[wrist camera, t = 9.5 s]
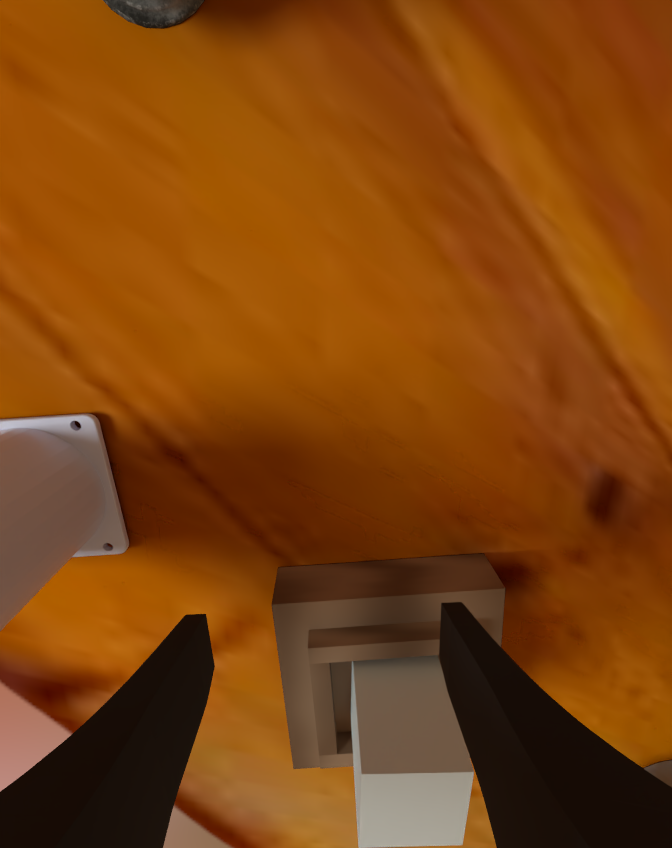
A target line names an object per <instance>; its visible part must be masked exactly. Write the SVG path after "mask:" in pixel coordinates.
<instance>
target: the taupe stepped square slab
mask: <svg viewBox="0 0 672 848" xmlns="http://www.w3.org/2000/svg"><path fill="white" fill-rule="evenodd" d="M504 601H505V587H504V585H503V584H502V582H501V580H500V579H499V577H498V575H497V574H496V572H495V571H494V569H493V567H492V566H491V564H490V562H489V561H488V559H487V558H486V556H485V554H484V553H481V554H467V555H453V556H438V557H424V558H409V559H395V560H381V561H366V562H352V563H337V564H323V565H308V566H294V567H280V568H278V571H277V577H276V583H275V588H274V594H273V600H272V611H273V618H274V626H275V633H276V641H277V648H278V656H279V663H280V671H281V678H282V685H283V693H284V700H285V708H286V715H287V723H288V730H289V738H290V745H291V753H292V760H293V768H294V769H301V768H315V767H320V768H334V767H348V766H354V764H353V747H352V730H351V714H350V710H351V674H352V661H361V660H375V659H389V658H404V657H418V656H432V655H438V658H439V661H440V657H439V646H440V622H441V603H449V602H462V603H463V604H464V605H465V606H466V607H467V609H468V610H469V611H470V612H471V613H472V615H473V616H474V617H475V618H476V619H477V621H478V622H479V623H480V624H481V625H482V626H483V628H484V629H485V630H486V631H487V632H488V633H489V635H490V636H491V637H492V638H493V639H494V640H495V641H496V642H497V644H498V645H499V646H500V647H501V642H502V628H503V615H504ZM440 665H441V662H440ZM441 668H442V666H441ZM464 742H465V741H464ZM465 745H466V743H465ZM466 748H467V746H466ZM467 751H468V749H467ZM468 754H469V752H468ZM469 758H470V755H469Z"/></svg>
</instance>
